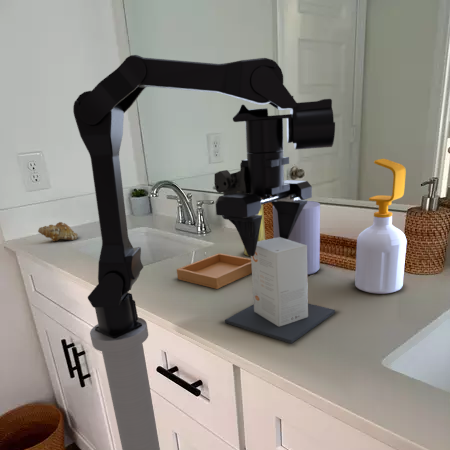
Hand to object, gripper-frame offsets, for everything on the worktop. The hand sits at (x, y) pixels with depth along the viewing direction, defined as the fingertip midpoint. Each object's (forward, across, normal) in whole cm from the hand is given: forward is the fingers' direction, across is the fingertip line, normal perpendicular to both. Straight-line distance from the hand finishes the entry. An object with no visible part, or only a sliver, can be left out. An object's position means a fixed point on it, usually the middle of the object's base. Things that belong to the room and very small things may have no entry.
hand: (268, 248), depth 73 cm
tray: (+13, -12, -24) cm, 30 cm away
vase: (+13, -30, -27) cm, 43 cm away
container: (+13, -24, -10) cm, 29 cm away
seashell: (+13, -11, -97) cm, 99 cm away
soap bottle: (+13, -23, +10) cm, 28 cm away
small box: (+12, 0, +2) cm, 12 cm away
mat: (+13, 0, +2) cm, 13 cm away
